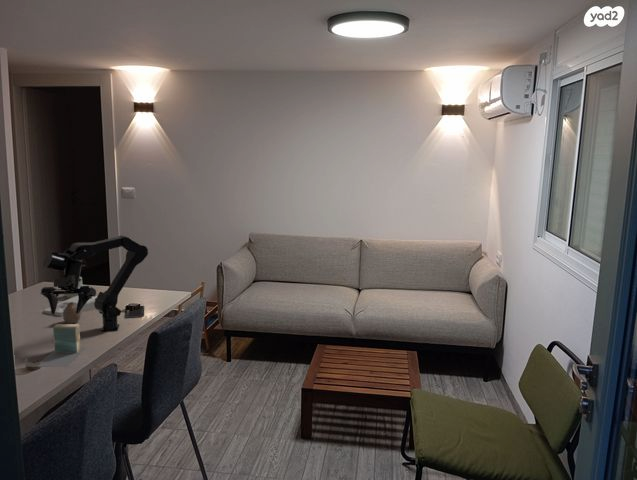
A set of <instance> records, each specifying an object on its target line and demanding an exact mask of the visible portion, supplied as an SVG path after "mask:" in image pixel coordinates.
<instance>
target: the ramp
mask: <svg viewBox="0 0 637 480" xmlns="http://www.w3.org/2000/svg"><path fill="white" fill-rule="evenodd" d="M97 296H98V295H96V296H95V297H92V299H89V300H88V301H87V302H86V304H85V305H84V306H83V308H82V309H81V311H80V312H81V313H83V312H89V311H93V310H96V308H95V306H94V303H95V299H96V298H97ZM78 299H79V298H78V296H75V297H73V298H68V299H65V300H63V301H61V302H59V303H57V307H56V311H55V313H54V314H52V313H51V308H50V306H49V307H47V308H44V309H43V310H42V313H43V314H48V315H52V316H57V317H63V311H64V309H65V308H66V306H67V305H68V303H70V302H74V303H75V305H76V306H77V304H78Z"/></svg>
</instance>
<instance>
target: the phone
mask: <svg viewBox="0 0 637 480" xmlns="http://www.w3.org/2000/svg"><path fill="white" fill-rule="evenodd" d="M139 306H140V309H138V310H134V311H130V310H127V309H126V312H125V319H135V318H144V317H145V305H139Z"/></svg>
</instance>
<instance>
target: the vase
mask: <svg viewBox="0 0 637 480" xmlns="http://www.w3.org/2000/svg"><path fill="white" fill-rule="evenodd" d="M76 309H77V306H76V305H75V303H74V302H70V303H68V305H67V306H66V308H65V309H64V311H63V316H62V317H63V321H64V322H65V324H78V322H79V320H81V317H82V316H81V313H82V312H79V313H78V314H77V313H76Z"/></svg>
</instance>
